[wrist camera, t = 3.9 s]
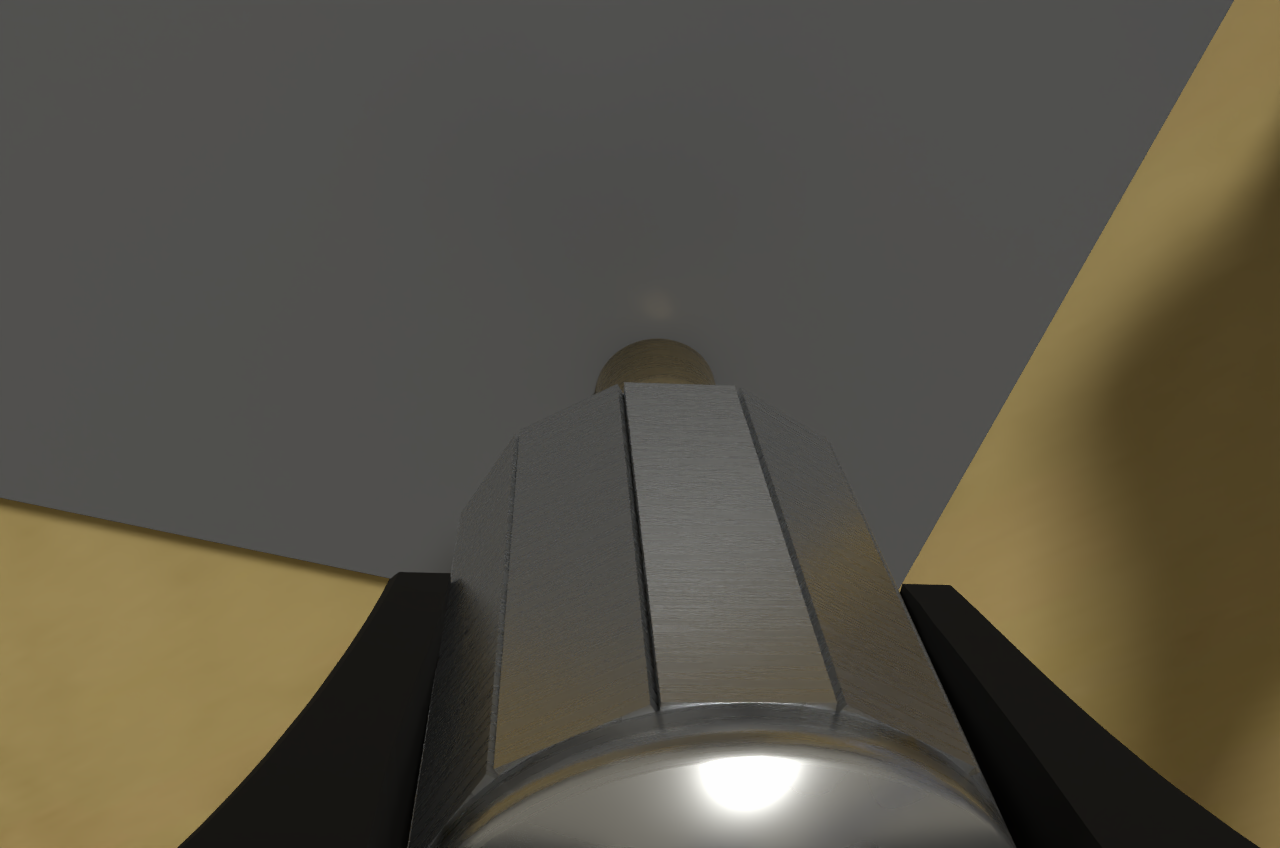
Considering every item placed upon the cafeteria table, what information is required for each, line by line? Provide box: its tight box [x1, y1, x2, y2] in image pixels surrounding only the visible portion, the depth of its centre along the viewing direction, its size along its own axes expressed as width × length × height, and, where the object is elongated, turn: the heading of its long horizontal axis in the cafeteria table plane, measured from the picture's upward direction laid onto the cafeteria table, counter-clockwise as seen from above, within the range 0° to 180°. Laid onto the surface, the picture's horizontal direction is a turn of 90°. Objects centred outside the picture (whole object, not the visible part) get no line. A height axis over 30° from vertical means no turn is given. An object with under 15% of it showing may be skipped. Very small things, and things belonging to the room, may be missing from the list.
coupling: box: [407, 382, 1016, 848], centre depth 11 cm, size 5×5×6 cm
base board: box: [0, 0, 1234, 589], centre depth 18 cm, size 20×20×1 cm
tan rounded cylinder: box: [595, 339, 716, 394], centre depth 19 cm, size 3×2×4 cm
